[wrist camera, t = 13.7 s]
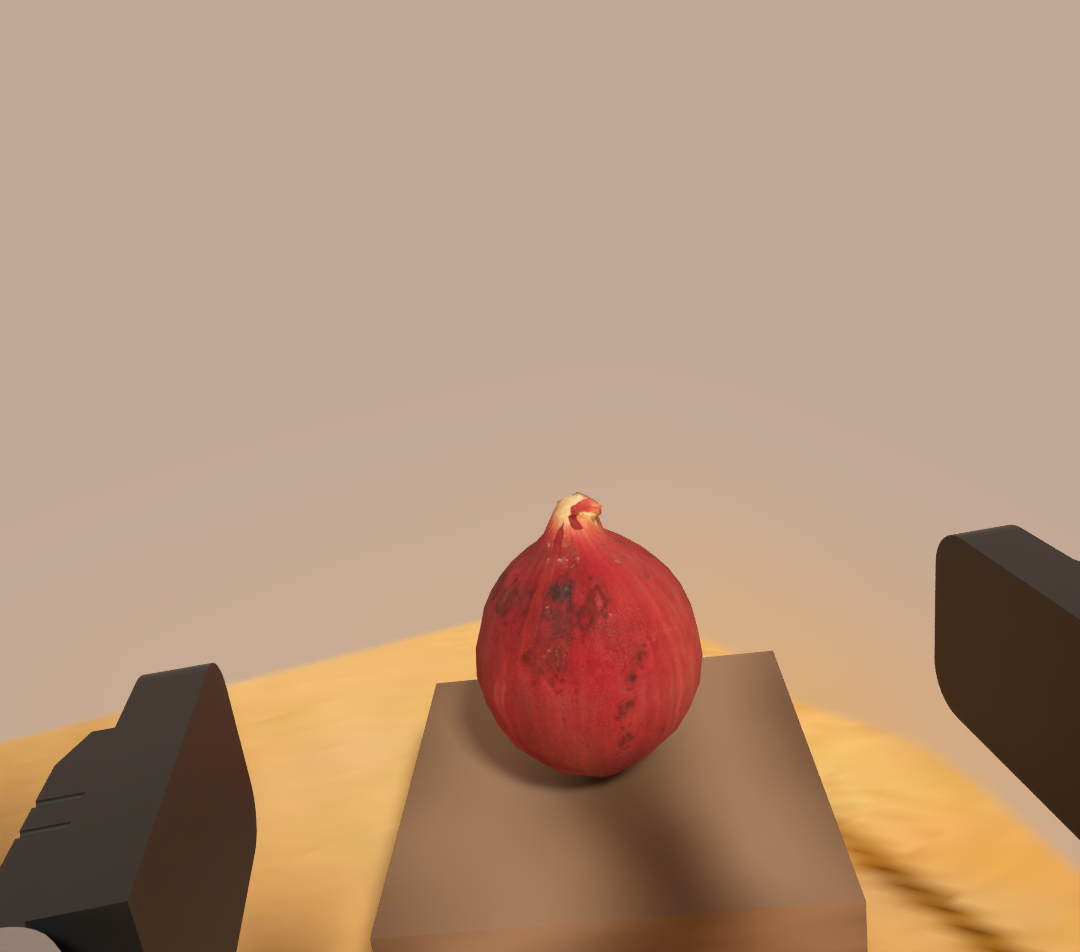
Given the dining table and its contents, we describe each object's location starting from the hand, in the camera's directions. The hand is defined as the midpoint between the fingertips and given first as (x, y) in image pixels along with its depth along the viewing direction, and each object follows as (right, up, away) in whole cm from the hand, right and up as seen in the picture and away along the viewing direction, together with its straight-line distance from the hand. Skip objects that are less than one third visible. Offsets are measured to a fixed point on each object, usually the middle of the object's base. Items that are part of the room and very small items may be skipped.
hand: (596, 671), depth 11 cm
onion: (+1, -6, +16) cm, 17 cm away
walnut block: (+2, -11, +18) cm, 21 cm away
